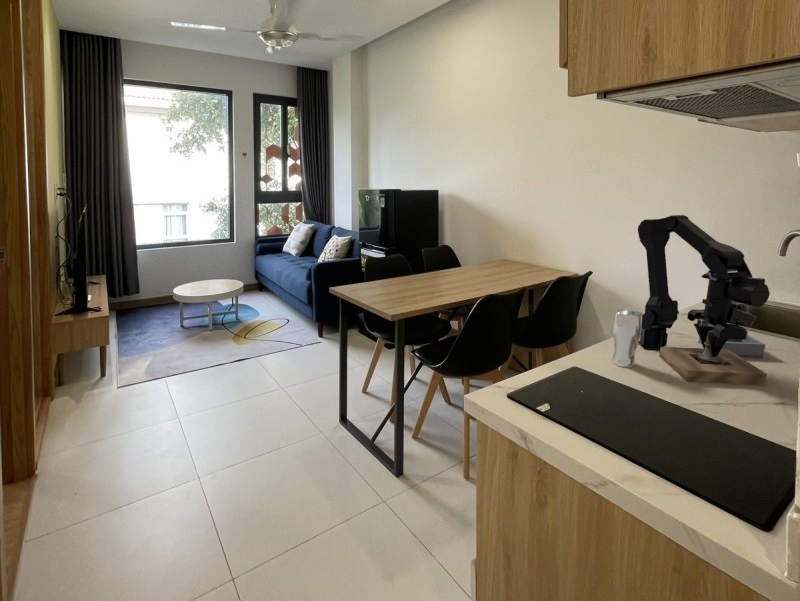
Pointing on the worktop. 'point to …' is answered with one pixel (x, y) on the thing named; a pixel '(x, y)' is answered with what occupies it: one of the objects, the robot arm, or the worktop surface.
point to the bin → (744, 347)
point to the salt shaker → (708, 356)
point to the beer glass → (626, 336)
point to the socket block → (712, 367)
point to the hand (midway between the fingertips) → (710, 354)
